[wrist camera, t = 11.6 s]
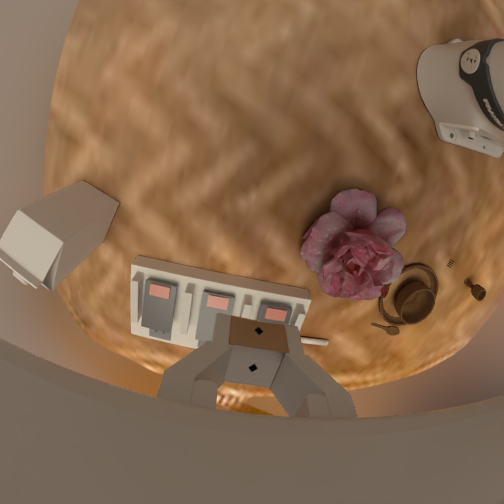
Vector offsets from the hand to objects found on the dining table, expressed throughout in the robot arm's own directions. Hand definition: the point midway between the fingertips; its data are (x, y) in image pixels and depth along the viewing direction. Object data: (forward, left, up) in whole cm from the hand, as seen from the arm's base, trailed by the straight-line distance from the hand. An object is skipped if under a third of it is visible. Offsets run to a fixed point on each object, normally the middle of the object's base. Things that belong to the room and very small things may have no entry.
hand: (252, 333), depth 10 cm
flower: (-15, +4, -29) cm, 33 cm away
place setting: (-34, +12, -30) cm, 47 cm away
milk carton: (+22, +8, -29) cm, 38 cm away
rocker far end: (+9, +18, -25) cm, 32 cm away
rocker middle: (+1, +18, -25) cm, 31 cm away
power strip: (-2, +20, -29) cm, 35 cm away
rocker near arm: (-7, +18, -25) cm, 32 cm away
